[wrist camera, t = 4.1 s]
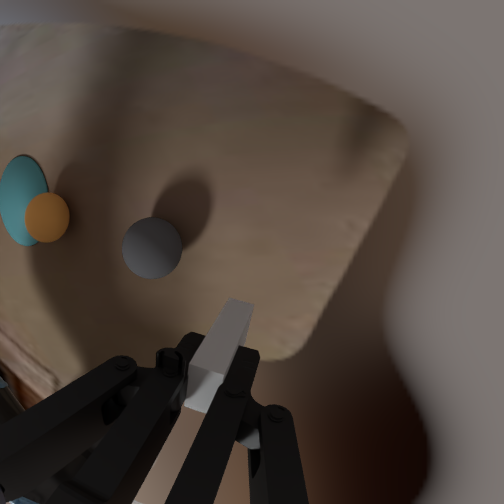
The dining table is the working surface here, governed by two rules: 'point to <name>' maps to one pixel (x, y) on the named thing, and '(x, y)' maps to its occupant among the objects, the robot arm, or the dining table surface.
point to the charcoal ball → (152, 248)
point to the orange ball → (47, 217)
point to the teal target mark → (20, 196)
